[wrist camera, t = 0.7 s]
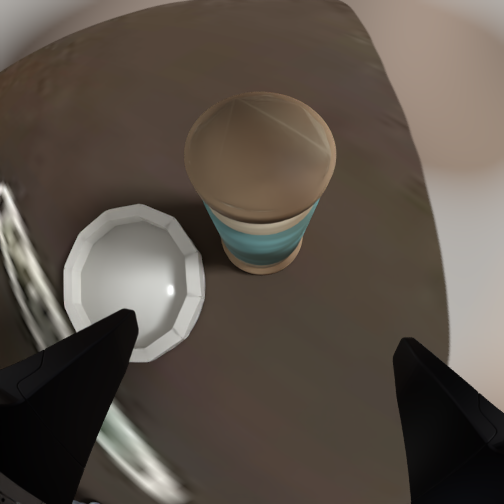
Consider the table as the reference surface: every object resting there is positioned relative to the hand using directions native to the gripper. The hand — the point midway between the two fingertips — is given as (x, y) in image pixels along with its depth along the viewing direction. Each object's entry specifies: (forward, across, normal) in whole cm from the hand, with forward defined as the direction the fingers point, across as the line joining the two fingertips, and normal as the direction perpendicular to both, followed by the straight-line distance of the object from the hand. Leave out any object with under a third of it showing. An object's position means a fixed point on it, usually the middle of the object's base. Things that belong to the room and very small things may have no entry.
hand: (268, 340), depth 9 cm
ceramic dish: (+12, +11, +7) cm, 17 cm away
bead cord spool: (+15, +1, +2) cm, 15 cm away
